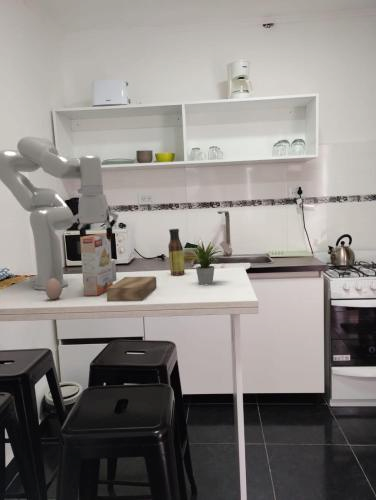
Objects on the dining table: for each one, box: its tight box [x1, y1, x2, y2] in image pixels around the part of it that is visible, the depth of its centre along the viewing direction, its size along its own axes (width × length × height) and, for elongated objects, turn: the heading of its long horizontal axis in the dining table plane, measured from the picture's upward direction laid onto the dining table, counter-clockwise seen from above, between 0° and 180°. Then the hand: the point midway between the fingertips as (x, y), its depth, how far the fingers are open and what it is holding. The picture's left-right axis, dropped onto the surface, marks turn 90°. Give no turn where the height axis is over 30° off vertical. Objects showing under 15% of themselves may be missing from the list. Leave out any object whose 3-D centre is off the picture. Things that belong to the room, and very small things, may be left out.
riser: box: [105, 275, 158, 302], centre depth 144 cm, size 12×20×4 cm, turn 171°
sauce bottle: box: [167, 228, 186, 276], centre depth 177 cm, size 6×6×20 cm
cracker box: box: [79, 233, 114, 297], centre depth 149 cm, size 14×6×21 cm, turn 168°
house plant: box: [189, 241, 225, 286], centre depth 154 cm, size 14×14×16 cm
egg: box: [45, 278, 63, 301], centre depth 141 cm, size 5×5×7 cm
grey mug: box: [111, 258, 118, 282], centre depth 173 cm, size 9×13×9 cm
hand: (96, 239), depth 148 cm, fingers open, 9 cm apart
